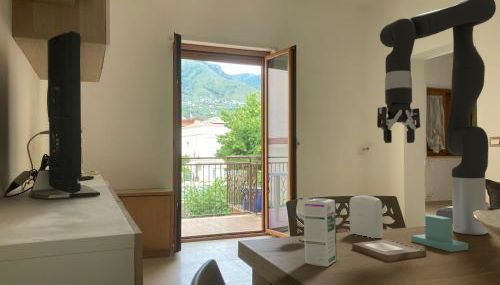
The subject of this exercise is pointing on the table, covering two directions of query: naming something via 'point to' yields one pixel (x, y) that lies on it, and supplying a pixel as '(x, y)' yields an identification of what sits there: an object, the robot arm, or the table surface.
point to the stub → (439, 234)
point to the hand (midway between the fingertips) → (399, 142)
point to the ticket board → (389, 250)
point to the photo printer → (366, 216)
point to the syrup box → (320, 232)
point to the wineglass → (301, 207)
